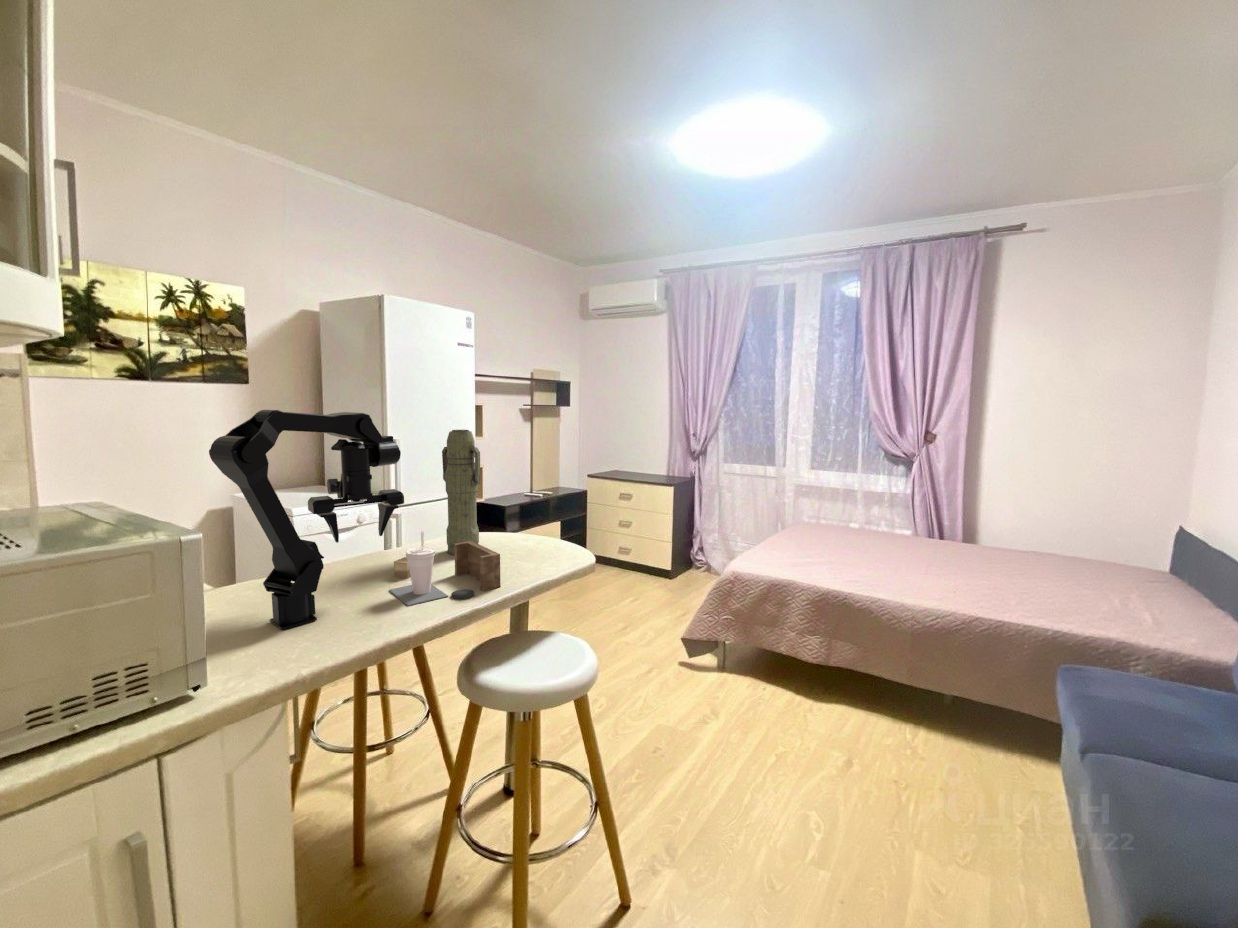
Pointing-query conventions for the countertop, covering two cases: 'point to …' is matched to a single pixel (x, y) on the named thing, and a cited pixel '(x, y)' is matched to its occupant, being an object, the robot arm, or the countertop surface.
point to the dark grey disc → (462, 594)
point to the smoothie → (421, 567)
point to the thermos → (461, 487)
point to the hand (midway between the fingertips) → (359, 538)
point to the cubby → (478, 563)
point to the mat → (412, 599)
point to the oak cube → (401, 568)
